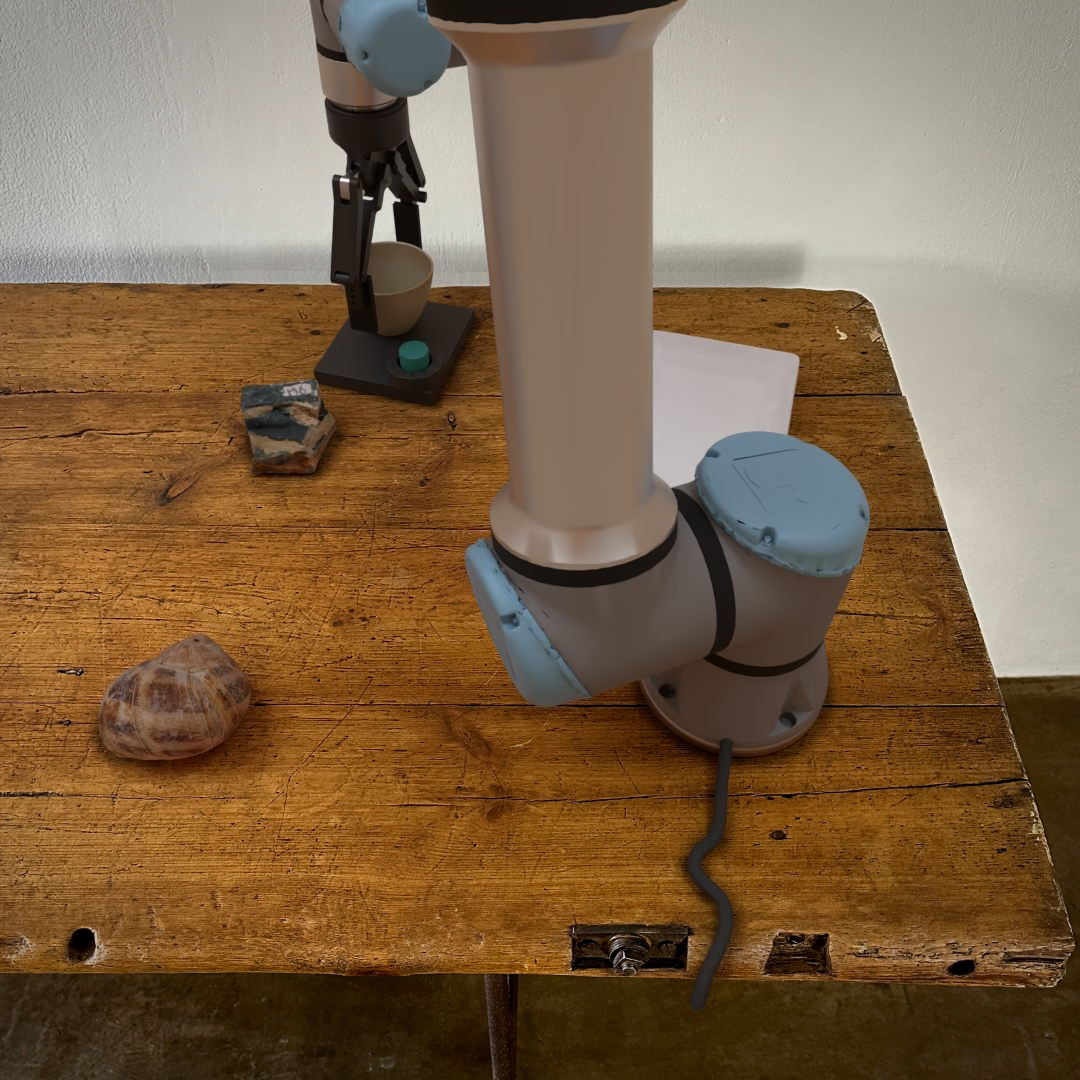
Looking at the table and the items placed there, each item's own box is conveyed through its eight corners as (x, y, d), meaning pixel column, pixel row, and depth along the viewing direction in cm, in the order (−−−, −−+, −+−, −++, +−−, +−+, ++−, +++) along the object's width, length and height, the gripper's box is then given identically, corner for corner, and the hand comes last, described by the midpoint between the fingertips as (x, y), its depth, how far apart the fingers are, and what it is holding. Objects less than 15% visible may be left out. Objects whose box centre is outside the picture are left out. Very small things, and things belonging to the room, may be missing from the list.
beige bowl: (423, 356, 103) (418, 300, 98) (333, 343, 105) (323, 287, 99) (447, 302, 110) (444, 246, 104) (363, 290, 111) (355, 234, 106)
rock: (251, 482, 93) (238, 439, 89) (250, 417, 99) (238, 374, 95) (341, 472, 94) (333, 428, 90) (336, 408, 100) (328, 364, 96)
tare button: (423, 374, 99) (422, 361, 98) (396, 369, 100) (394, 355, 99) (433, 356, 101) (432, 343, 100) (406, 351, 102) (404, 338, 100)
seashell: (186, 631, 81) (201, 601, 72) (258, 713, 81) (282, 692, 73) (74, 716, 75) (77, 694, 67) (153, 803, 76) (165, 792, 67)
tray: (569, 559, 88) (571, 533, 85) (642, 349, 108) (645, 324, 105) (756, 602, 85) (764, 577, 82) (795, 379, 105) (802, 353, 102)
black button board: (434, 409, 101) (432, 383, 98) (313, 385, 103) (308, 359, 100) (479, 322, 110) (478, 296, 108) (368, 301, 112) (364, 276, 110)
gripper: (351, 165, 80) (378, 369, 96) (448, 44, 95) (458, 236, 111) (266, 152, 81) (308, 356, 97) (377, 34, 97) (397, 226, 113)
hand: (388, 292), depth 104 cm, fingers open, 13 cm apart
